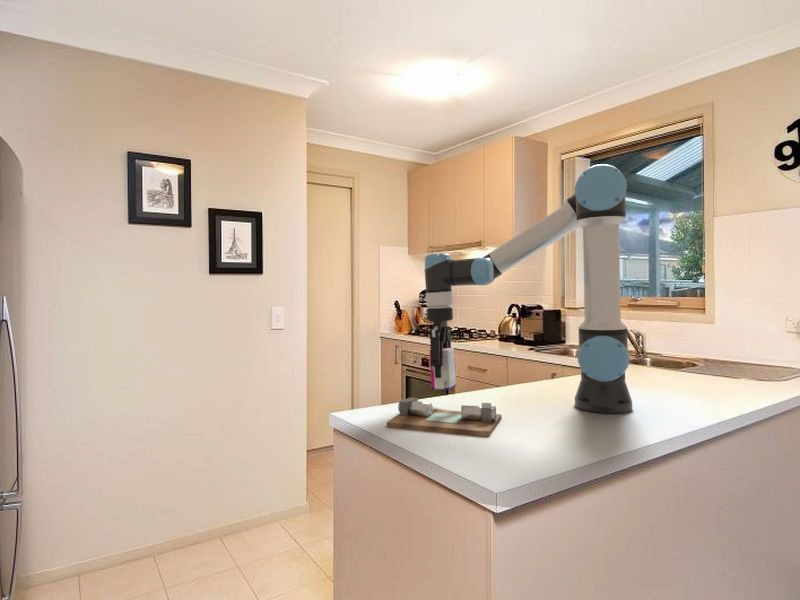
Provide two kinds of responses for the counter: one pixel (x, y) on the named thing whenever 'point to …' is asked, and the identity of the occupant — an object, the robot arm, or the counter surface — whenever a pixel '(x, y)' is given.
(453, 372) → the supplement box
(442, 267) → the robot arm
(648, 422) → the counter surface
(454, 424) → the board
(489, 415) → the grey collared shaft
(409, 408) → the shaft
